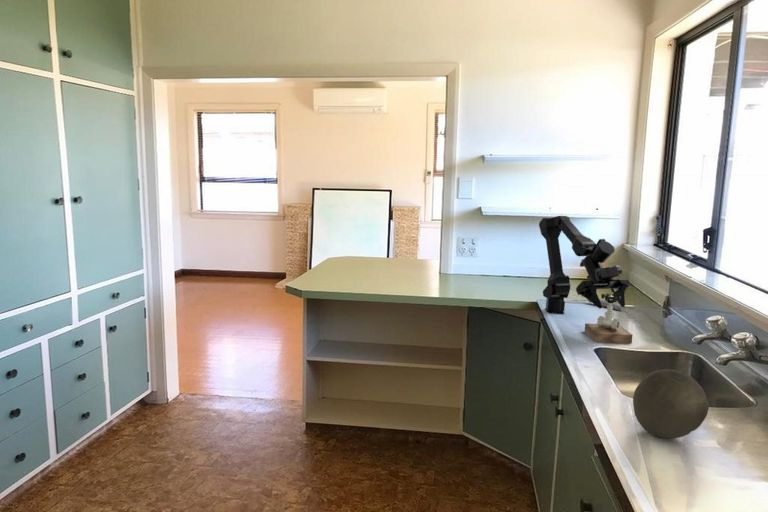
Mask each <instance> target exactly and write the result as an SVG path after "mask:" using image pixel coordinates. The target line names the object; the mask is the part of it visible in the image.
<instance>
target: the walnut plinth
mask: <svg viewBox="0 0 768 512" xmlns="http://www.w3.org/2000/svg"><path fill="white" fill-rule="evenodd" d="M584 332H585V334H587V335H588V336H589V337H590V339H592V340H593V341H594V342H595V343H613V344H615V343H617V344H632V343H633V334H632V333H631V332H629V331H628V330H627V329H625V328H624V327H623V326H621V325H620V326H619V329H618V330H614V329H606V328H604V327H600V326H598V325H597V323H584Z"/></svg>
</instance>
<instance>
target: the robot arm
mask: <svg viewBox="0 0 768 512" xmlns="http://www.w3.org/2000/svg"><path fill="white" fill-rule="evenodd" d="M538 227H539V231H540V234H541V236H542V237H543V238H544V239H545V243H546V250H547V257H548V258H547V259H548V266H549V273H550V274H549V277H548V279H547V282H546V283H547V286H546V287H545V288H544V289H543V291H542V295H543V297H544V298H546V299H545V300H546V301H545V302H546V303H545V307H544V310H545V312H546V313H548V314H561V315H562V314H565V305H566V304H565V303H566V301H565V299H567V298H569V295H570V293H569V292H570V291H571V287H572V286H571V282H570V276H569V275H566V274H565V273H564V269H563V261H562V255H561V254H562V253H561V247H560V241H559V237H560V235H561V233H563V234H564V235H565V237H566V238H567V239H568V240H569V242H571V249H572V250H573V252H574V254H575V256H576V257H584V258H583V259H581V262H580V263H579V266H580V267H581V268H582V267H584V268H585V270H586V272H587V273H586V274H587V276H586V278H587V279H586V280H584V279H583V280H582V281H580V282H579V284H578V285H577V286H576V289H575V290H576V291H575V292H576V295H577V296H578V295H579V296H580V297H581V298H582V297H583V298H584V299H586V298H587V299H586V300H589V301H591V302H592V303H591V302H590V303H591V304H593V305H594V306H595V307H597V308H598V309H602V308H603V306H602V305H601V302H600V300H599V299H600V298H599V295H598V293H597V290H610V291H611V292H612V295H613V294H616V296H617V295H620V296H621V300H617V304H620V305H621V306H622V307H624V308H625V307H626V303H625V302H626V301H625V293H626V290H627V289H628V288H629V287H631V283H630V281H629V279H627V278H617V279H616V280H615V281H614V282H612V281H613V280H614V278H616V277H619V276H620V275H621V274H622V273H623V269H622V267H621V266H620V265H613V266H608V267H604V266H603V263H605V262H606V261H607V260H609V258H610V257H611V256H612V255H613V254H614V253H615V246H614V245H612V244H611V243H610V242H608V241H606V239H605V238H600V239H598V241H594V240H592V239H591V238H590V237H588V236H585V235H584V234H582V233H581V232H580V230H579V229H578V228H577V227H576V225H574V224H573V222H572V221H571V220H570V217H569V216H567V215H557V216H553V217H543V218H541V220H540V221H539V222H538ZM570 286H571V287H570Z"/></svg>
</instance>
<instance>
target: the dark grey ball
mask: <svg viewBox="0 0 768 512" xmlns="http://www.w3.org/2000/svg"><path fill="white" fill-rule="evenodd" d="M632 405H633V411H634V416H635V418H636V421H637V422H638V423H639V425H640V426H641V428H642V429H643V430H645V432H646V433H649V434H650V435H652V436H654V437H657V438H659V439H660V438H662V439H666V440H667V439H668V440H669V439H670V440H671V439H679V438H683V437H685V436H687V435H689V434H690V433H692V432H694V431H696V430H697V429H698V428H700V426H701V425H702V424H703V422H704V421H705V419H706V417H707V416H708V413H709V407H710V403H709V401H708V398H707V395H706V393H705V390H704V389H703V386H701V385H700V384H699V382H697V380H696V379H694V378H693V377H691V376H690V375H689V374H687V373H685V372H684V371H681V370H677V369H669V368H668V369H667V368H666V369H658V370H654V371H652V372H650V373H649V374H646V375H645V376H644V377H643V378H642V379H641V381H640V382H639V383H638V385H637V386H636V388H635V390H634V392H633V396H632Z"/></svg>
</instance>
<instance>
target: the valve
mask: <svg viewBox="0 0 768 512" xmlns="http://www.w3.org/2000/svg"><path fill="white" fill-rule="evenodd" d="M600 299H602V300H605V301H606V302H608V303H609V305H607V307H606V311H605V312H604V316H602V315H599V316H598V318H597V322H596V324H597V325H598V326H600V327H604V328H606V329H614V330H618V329H619V326H621V322H620V319H617V318H614V317H615V313H614V312H613V310H614V309H613V306H612V303H618V301H617V300H621V296H620V295H617V296H616V294H613V293H612V294H610V293H606V294H605V293H601V297H600Z"/></svg>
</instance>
